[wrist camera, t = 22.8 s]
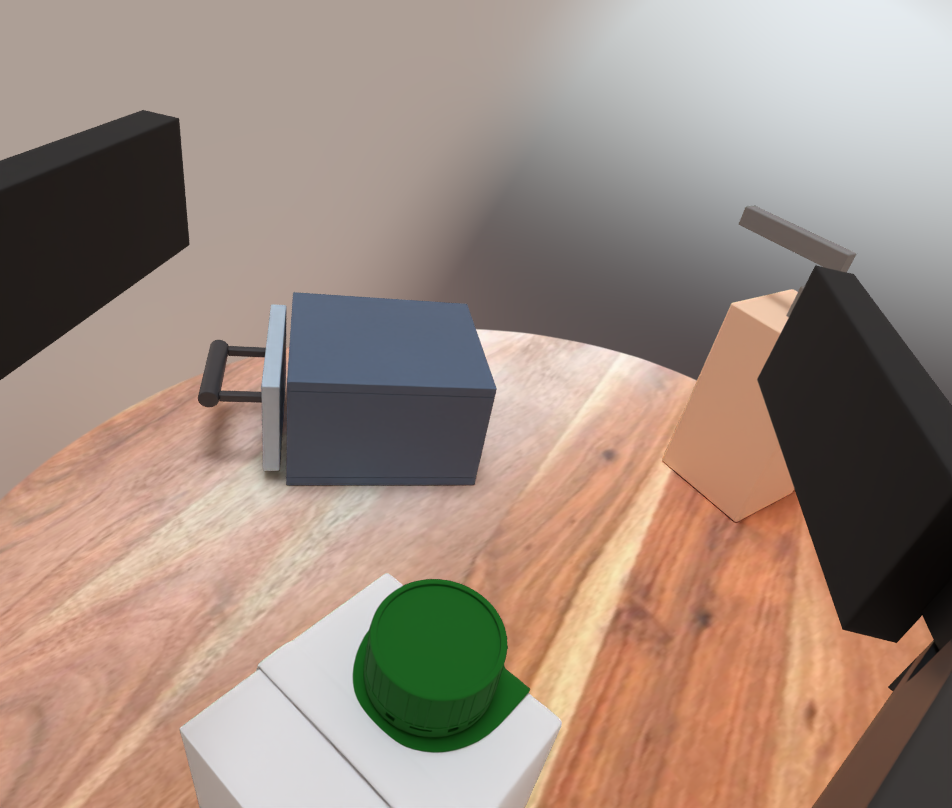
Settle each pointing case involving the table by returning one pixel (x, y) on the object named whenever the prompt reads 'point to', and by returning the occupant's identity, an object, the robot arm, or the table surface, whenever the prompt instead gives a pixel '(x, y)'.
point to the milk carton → (378, 712)
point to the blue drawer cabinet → (385, 392)
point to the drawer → (270, 389)
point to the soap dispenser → (744, 389)
